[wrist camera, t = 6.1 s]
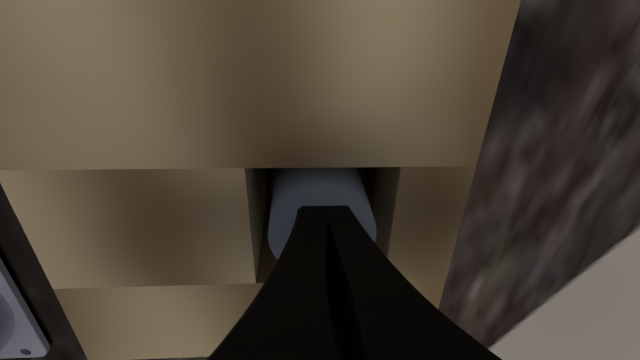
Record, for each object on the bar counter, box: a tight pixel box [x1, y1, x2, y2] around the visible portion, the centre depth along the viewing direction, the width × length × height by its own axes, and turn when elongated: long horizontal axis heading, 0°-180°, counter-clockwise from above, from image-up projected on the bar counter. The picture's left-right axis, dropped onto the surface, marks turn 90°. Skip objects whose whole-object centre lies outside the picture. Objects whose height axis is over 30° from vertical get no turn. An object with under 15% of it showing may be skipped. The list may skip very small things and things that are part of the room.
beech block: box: [0, 0, 521, 360], centre depth 10 cm, size 12×20×5 cm, turn 179°
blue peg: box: [268, 167, 377, 259], centre depth 12 cm, size 3×3×4 cm
